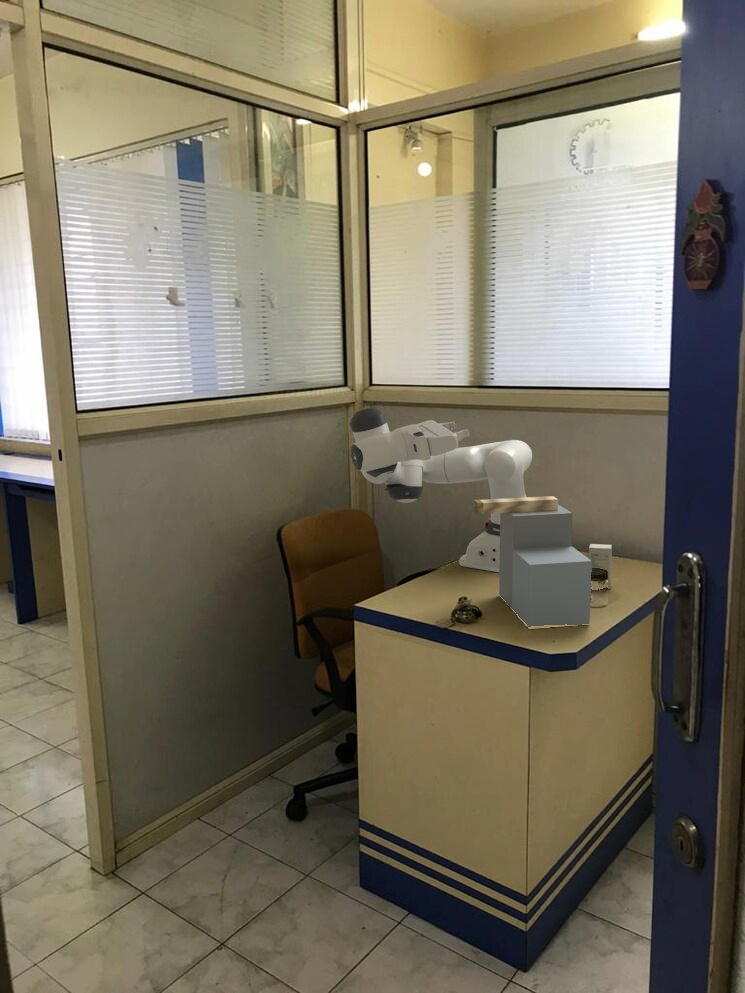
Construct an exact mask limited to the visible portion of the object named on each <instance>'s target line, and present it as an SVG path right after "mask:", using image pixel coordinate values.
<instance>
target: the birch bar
mask: <svg viewBox="0 0 745 993" xmlns="http://www.w3.org/2000/svg"><path fill="white" fill-rule="evenodd" d="M558 505H559V499H558V498H557V497H555V496H553V495H552V496H551V495H548V496H527V497H525V498H505V499H491V498H490V499H488V498H487V499H473V512H474V513H476V514H477V515H489V514H490V515H491V514H494V513H513V512H532V511H551V510H558Z"/></svg>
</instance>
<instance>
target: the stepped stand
mask: <svg viewBox="0 0 745 993" xmlns="http://www.w3.org/2000/svg"><path fill="white" fill-rule="evenodd" d="M572 527H573V513H572V512H571V511H570V510H569V509H567V508H565V507H563V506H561V505H560V504H558V510H551V511H532V512H513V513H500V569H499V572H498V573H499V577H498V578H499V582H498V583H499V584H498V587H499V588H498V592H499V593H498V596H499V595H500V596H501V597H502V598H503V599H504V600H505V601H506V603H507V604H508V605H509V606H510V607H511V608H512V609H513V610H514V611H515V612H516V614H518V616H519V617H520V618H521V619H522V620H523V621H524V622H525V623H526V624H527V626H528V627H531V626H544V625H565V624H567V625H582V624H590V620H591V619H590V618H591V598H592V595H591V592H592V588H591V572H592V561H591V560H590V559H589V557H587V556H586V555H584V554H583V553H582V552H580V551H579V550H577V549H576V548H575V547H574V546H572V538H573V537H572V536H573V535H572V534H573V531H572V530H573V528H572ZM500 596H499V597H500ZM506 603H505V604H506ZM507 604H506V605H507ZM590 625H591V624H590Z"/></svg>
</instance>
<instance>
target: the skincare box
mask: <svg viewBox="0 0 745 993" xmlns="http://www.w3.org/2000/svg"><path fill="white" fill-rule="evenodd" d="M588 546H589V547H588V559H590V560H591V561H592V568H600V569H605V570H607V571H608V583H607V585H608V589H609V590H610V589H611V587H612V565H613V564H612V559H613V558H612V557H613V556H612V555H613V552H612V550H613V549H612V548H613V547H612V544H605V543H604V544H603V543H602V544H598V543H590V544H589V545H588ZM608 589H607V590H608Z"/></svg>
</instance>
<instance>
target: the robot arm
mask: <svg viewBox="0 0 745 993" xmlns="http://www.w3.org/2000/svg"><path fill="white" fill-rule="evenodd" d="M457 424H458V423H457V422H456V421H450V422H440V423H438V422H437V421H435V420H433V419H431V420H426V421H422V422H420V423H417V424H415V423H412V424H409V425H404V426H401V427H398V428H395V429H393V430H392V431H390V428H389V425H388V420H387V415H386V413H385V411H383V410H381V409H380V408H377V407H365V408H362V409H360V410H358V411H356V412H355V413H354V414H353V416H352V417H351V419H350V421H349V427H350V429H351V432H352V435H353V437H354V441H355V442H354V443H351V446H350V457H351V462H352V464H353V466H354V468H355V469H356V470H357V471H359V472H361V473H362V476H363V478H365V479H366V480H367V481H369V482H370V483H372V484H375V485H376V484H377V485H382V484H385V488H384V489H383V490H384V491H385V492H387V494H388V495H389V496H390V498H391V499H392V500H393V501H397V502H399V503H403V504H409V503H412V502H415V501H416V500H419V499H420V498H421V497H422V495H423V488H424V487H423V482H424V483H426V484H427V483H428V484H436V485H437V484H441V485H443V484H445V485H447V484H460V483H471V482H472V483H473V482H478V481H482V480H483V481H484V480H487V482H488V487H489V492H490V499H505V498H525V497H528V496H527V493H526V490H525V484H524V483H525V481H524V472H526V471H527V470H528V469H529V468H530V466H531V463H532V460H533V451H532V449H531V447H530V446H529V445H528V444H527V442H525V441H522V440H517V439H510V440H503V441H495V442H491V443H483V444H478V445H473V446H471V445H470V446H464V447H459V441H462V440H463V439H464V438H467V437H468V438H469V437H470V436H471V434H470V430H469V429H467V428H463V429H460V431H457V432H453V430H457V428H458V425H457ZM483 529H484V531H483V532H482V533H480V534H479V535H478V536H476V537H475V538H474V539H472V540H471V541H469V544H468V545H467V548H466V553H465V554H463V555H462V556H460V557H459V560H458V564H459V565H460V567H465V568H471V569H475V570H476V569H477V570H484V571H488V572H496V573H499V569H500V513H494V514H490V517H488V519H486V520H485V522H484V524H483Z"/></svg>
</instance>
